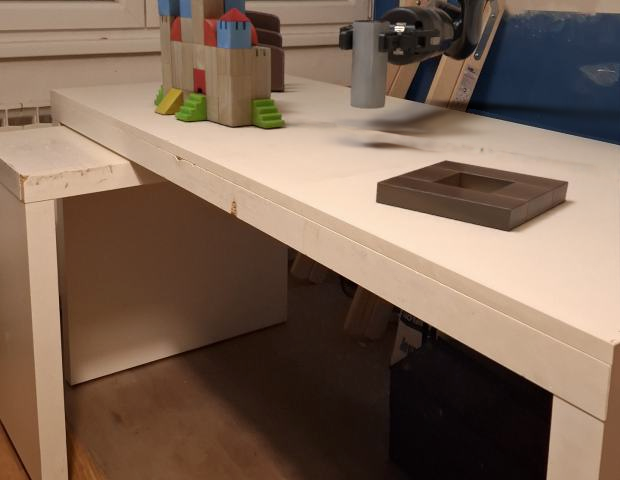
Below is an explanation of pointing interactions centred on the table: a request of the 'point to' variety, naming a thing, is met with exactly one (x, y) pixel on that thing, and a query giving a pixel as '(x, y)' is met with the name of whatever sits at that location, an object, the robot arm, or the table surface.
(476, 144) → the table surface
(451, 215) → the socket pad
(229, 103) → the block set
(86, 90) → the table surface
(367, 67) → the grey cylinder peg
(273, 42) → the letter holder
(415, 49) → the robot arm
